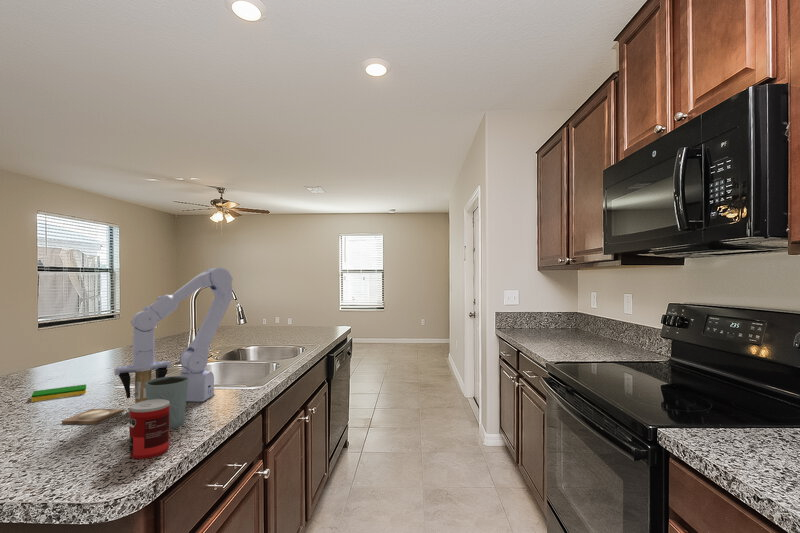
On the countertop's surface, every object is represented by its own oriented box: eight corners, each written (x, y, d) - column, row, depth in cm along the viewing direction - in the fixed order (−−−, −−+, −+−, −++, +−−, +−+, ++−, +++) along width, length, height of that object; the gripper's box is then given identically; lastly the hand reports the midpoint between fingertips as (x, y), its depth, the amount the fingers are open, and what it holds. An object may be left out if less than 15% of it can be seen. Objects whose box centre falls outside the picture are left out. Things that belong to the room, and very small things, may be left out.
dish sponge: (33, 398, 135) (34, 390, 135) (86, 390, 143) (86, 384, 143) (31, 403, 129) (31, 395, 129) (85, 395, 138) (85, 388, 138)
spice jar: (152, 408, 123) (152, 364, 123) (134, 411, 120) (134, 366, 121) (151, 404, 127) (152, 361, 127) (134, 407, 124) (134, 363, 124)
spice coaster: (124, 411, 120) (124, 408, 120) (97, 424, 110) (97, 421, 110) (91, 411, 120) (91, 408, 120) (61, 423, 110) (62, 420, 110)
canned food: (140, 445, 96) (141, 399, 96) (175, 444, 96) (176, 398, 97) (121, 460, 88) (121, 409, 88) (159, 459, 89) (159, 408, 89)
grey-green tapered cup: (142, 434, 103) (143, 387, 103) (146, 421, 112) (147, 378, 112) (187, 427, 108) (188, 382, 108) (187, 415, 116) (188, 373, 117)
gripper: (167, 345, 132) (166, 387, 131) (113, 351, 122) (112, 396, 122) (172, 348, 126) (172, 392, 126) (116, 355, 117) (115, 402, 116)
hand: (143, 394), depth 124 cm, fingers open, 7 cm apart
